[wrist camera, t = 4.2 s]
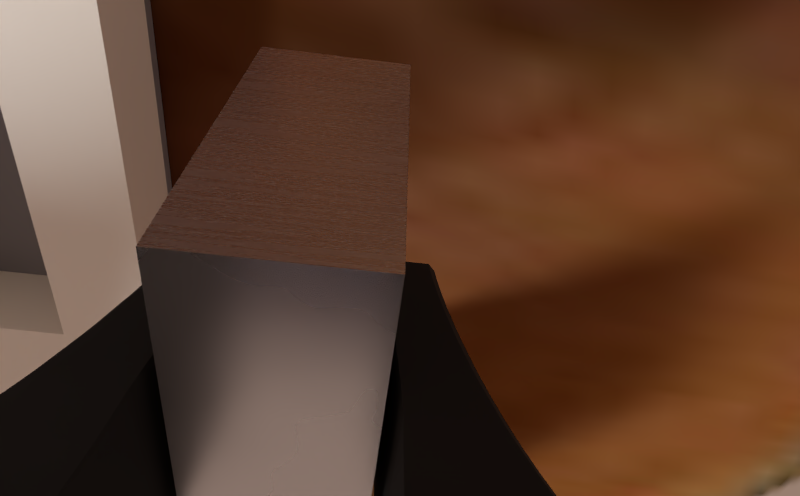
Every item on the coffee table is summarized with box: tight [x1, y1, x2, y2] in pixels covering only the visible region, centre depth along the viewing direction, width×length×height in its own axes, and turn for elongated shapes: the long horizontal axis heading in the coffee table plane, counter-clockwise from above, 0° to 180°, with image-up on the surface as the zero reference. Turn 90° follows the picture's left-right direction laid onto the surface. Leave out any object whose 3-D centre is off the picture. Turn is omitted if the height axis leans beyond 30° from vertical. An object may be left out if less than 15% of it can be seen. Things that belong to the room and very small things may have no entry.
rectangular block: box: [136, 47, 411, 496], centre depth 10 cm, size 2×6×6 cm, turn 174°
